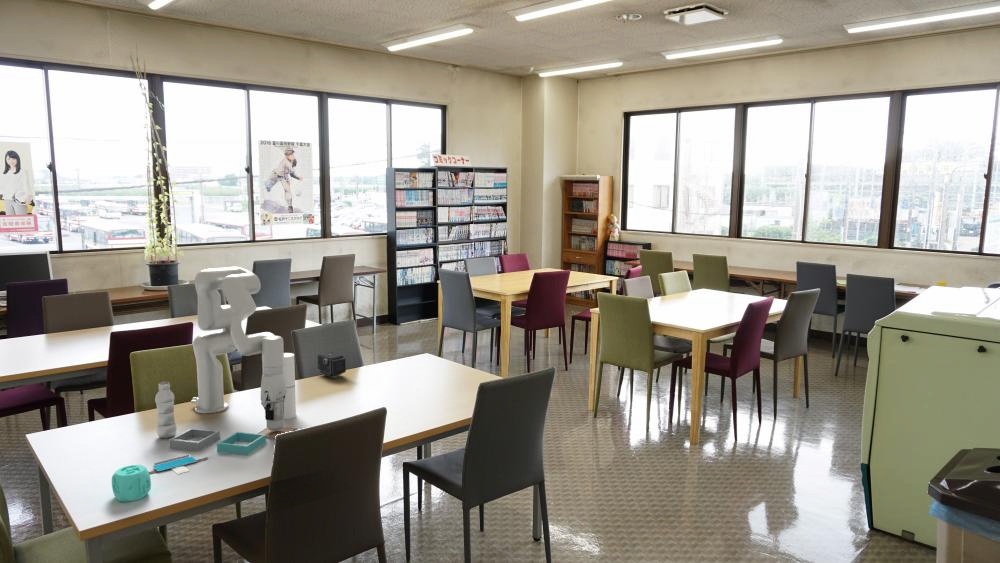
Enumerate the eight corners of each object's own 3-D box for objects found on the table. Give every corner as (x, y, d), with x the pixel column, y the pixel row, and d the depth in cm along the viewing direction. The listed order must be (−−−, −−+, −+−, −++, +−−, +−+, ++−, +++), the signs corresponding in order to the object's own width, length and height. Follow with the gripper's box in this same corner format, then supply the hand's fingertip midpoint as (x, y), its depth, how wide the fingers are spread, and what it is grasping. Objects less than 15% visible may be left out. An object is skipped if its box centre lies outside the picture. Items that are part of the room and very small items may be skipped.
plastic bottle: (157, 441, 238) (153, 387, 235) (157, 435, 244) (153, 382, 241) (177, 438, 241) (174, 384, 238) (176, 432, 247) (173, 380, 244)
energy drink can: (279, 424, 251) (278, 385, 249) (286, 428, 247) (285, 389, 245) (263, 428, 247) (262, 388, 245) (271, 432, 243) (270, 392, 241)
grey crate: (169, 447, 232) (169, 439, 231) (191, 436, 243) (191, 428, 243) (198, 451, 229) (198, 442, 229) (219, 439, 241) (219, 431, 240)
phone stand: (149, 483, 205) (149, 478, 205) (137, 471, 214) (137, 466, 213) (215, 466, 219) (215, 461, 218) (202, 455, 227) (201, 450, 227)
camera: (315, 377, 324) (331, 381, 313) (313, 354, 323) (329, 357, 312) (334, 373, 331) (350, 376, 321) (332, 351, 331) (349, 353, 320)
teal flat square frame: (217, 451, 229) (216, 443, 229) (237, 439, 240) (237, 431, 240) (247, 455, 226) (246, 446, 226) (266, 442, 238) (265, 434, 237)
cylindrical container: (290, 419, 261) (288, 357, 258) (273, 418, 263) (271, 356, 260) (299, 413, 268) (297, 353, 265) (283, 412, 270) (281, 352, 266)
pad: (253, 437, 243) (253, 435, 243) (270, 426, 253) (270, 425, 253) (281, 439, 240) (281, 438, 240) (296, 429, 251) (296, 427, 251)
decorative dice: (122, 505, 190) (120, 478, 189) (112, 496, 195) (110, 470, 194) (151, 495, 196) (150, 469, 195) (141, 487, 201) (139, 462, 200)
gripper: (276, 362, 253) (278, 408, 255) (250, 375, 236) (252, 423, 239) (294, 364, 251) (296, 410, 254) (269, 376, 235) (271, 425, 237)
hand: (274, 416), depth 246 cm, fingers closed on energy drink can, 6 cm apart
